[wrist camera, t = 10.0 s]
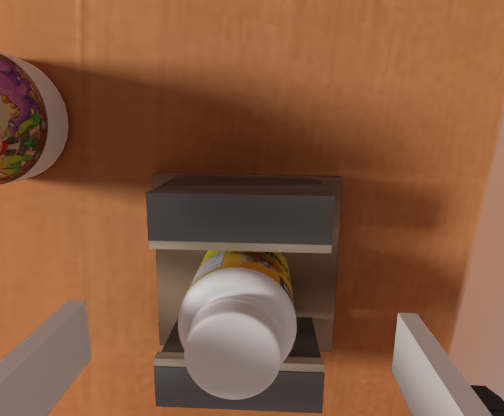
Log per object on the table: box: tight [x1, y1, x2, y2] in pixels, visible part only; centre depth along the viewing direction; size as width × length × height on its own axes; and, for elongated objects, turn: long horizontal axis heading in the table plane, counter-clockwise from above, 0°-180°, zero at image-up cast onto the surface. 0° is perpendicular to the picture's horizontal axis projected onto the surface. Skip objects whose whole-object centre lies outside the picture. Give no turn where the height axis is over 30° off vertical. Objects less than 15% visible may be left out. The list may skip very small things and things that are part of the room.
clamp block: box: [146, 173, 343, 413], centre depth 23 cm, size 12×12×7 cm
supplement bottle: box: [178, 250, 297, 400], centre depth 20 cm, size 6×6×10 cm
